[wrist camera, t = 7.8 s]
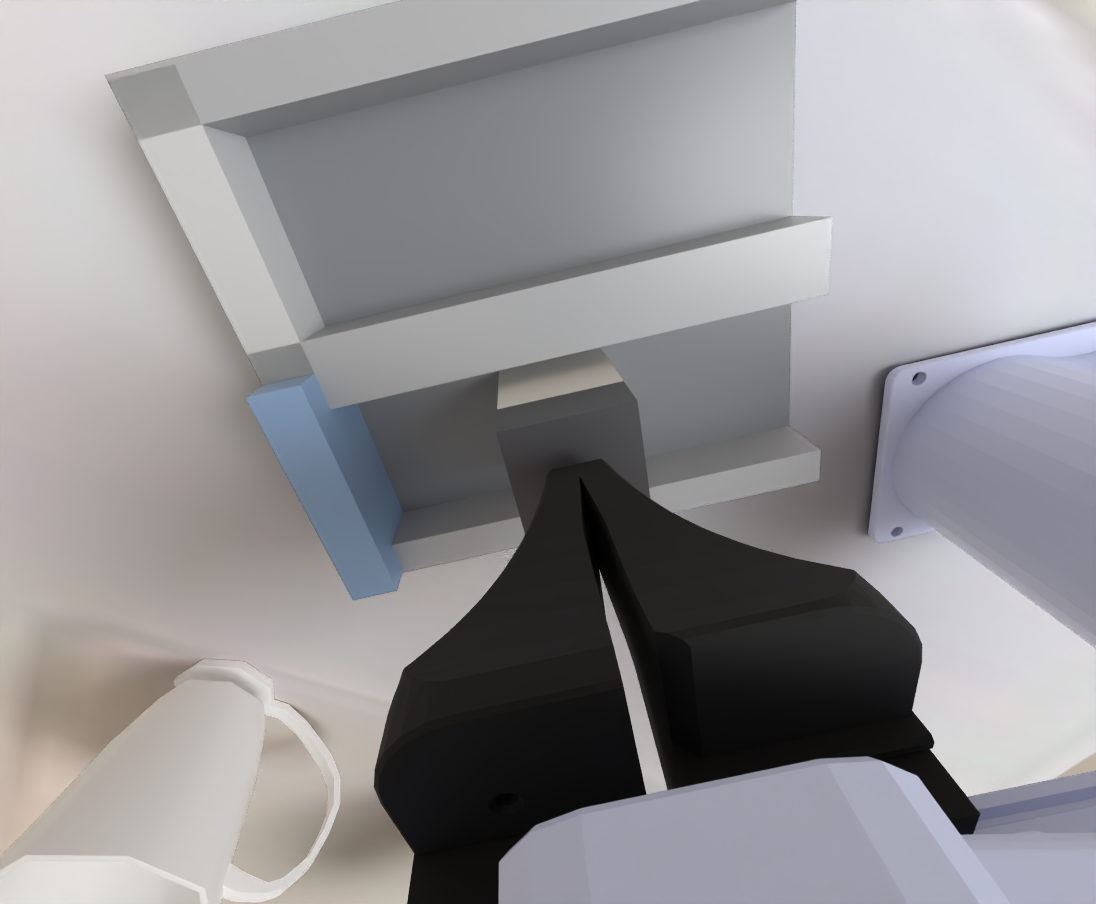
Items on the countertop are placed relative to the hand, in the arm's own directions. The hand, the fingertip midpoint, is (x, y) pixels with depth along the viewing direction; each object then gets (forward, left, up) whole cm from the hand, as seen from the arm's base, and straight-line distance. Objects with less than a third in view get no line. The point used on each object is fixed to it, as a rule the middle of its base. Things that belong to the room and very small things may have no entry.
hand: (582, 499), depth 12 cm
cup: (+17, +12, -7) cm, 22 cm away
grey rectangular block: (0, 0, -6) cm, 6 cm away
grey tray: (0, -3, -7) cm, 8 cm away
